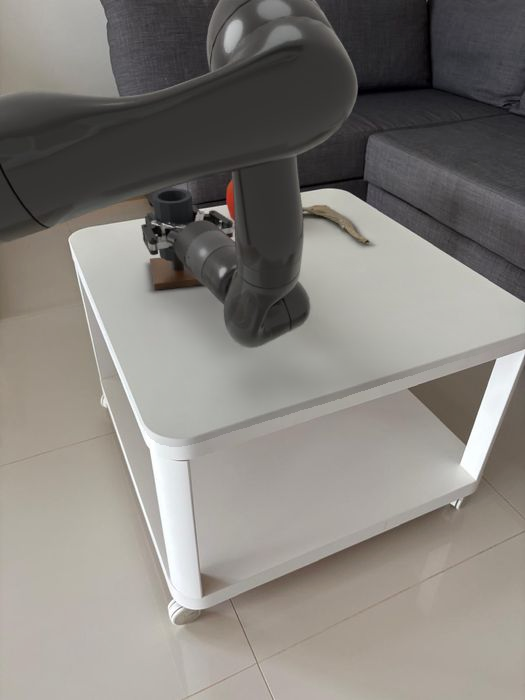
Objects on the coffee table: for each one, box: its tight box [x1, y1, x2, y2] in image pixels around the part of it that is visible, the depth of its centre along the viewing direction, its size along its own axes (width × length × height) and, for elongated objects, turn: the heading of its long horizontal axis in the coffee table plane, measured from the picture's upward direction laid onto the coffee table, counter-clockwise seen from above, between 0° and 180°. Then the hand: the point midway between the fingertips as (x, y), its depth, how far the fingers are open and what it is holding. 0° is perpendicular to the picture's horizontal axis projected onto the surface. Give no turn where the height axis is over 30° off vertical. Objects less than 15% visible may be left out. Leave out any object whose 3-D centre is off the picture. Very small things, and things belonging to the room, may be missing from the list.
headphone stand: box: [149, 257, 204, 291], centre depth 90 cm, size 9×9×12 cm
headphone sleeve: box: [152, 188, 194, 262], centre depth 89 cm, size 6×6×10 cm
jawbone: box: [302, 204, 370, 244], centre depth 111 cm, size 9×20×2 cm, turn 48°
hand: (169, 214), depth 90 cm, fingers closed on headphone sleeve, 6 cm apart
